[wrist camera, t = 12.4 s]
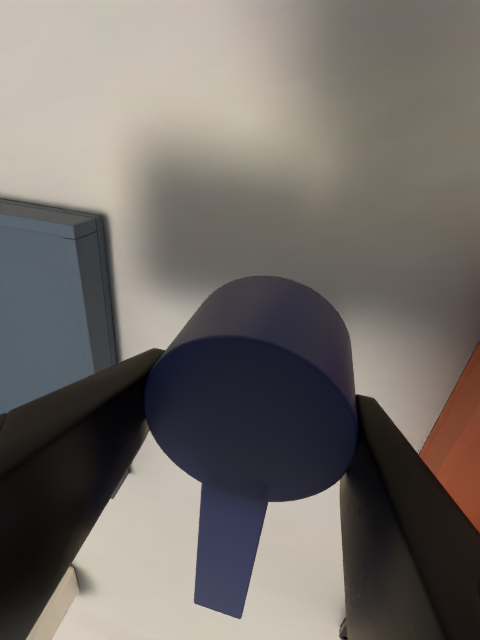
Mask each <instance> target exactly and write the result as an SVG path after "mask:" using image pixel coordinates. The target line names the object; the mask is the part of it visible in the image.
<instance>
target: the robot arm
mask: <svg viewBox="0 0 480 640" xmlns="http://www.w3.org/2000/svg"><path fill="white" fill-rule="evenodd" d="M165 351H166V350H162V349H157V348H153V349H150V350H148V351H146V352H143V353H141V354H139V355H136V356H134V357H132V358H129V359H127V360H125V361H123V362H120V363H118V364H116V365H113V366H111V367H109V368H106V369H104V370H102V371H100V372H97V373H95V374H93V375H90V376H88V377H86V378H83V379H81V380H79V381H77V382H74V383H72V384H70V385H67V386H65V387H63V388H60V389H58V390H56V391H54V392H51V393H49V394H47V395H44V396H42V397H40V398H37V399H35V400H33V401H30V402H28V403H26V404H24V405H21V406H19V407H17V408H14V409H12V410H10V411H9V412H8V413H3V414H0V640H26V639H27V637H28V635H29V634H30V632H31V630H32V629H33V627H34V625H35V623H36V622H37V620H38V618H39V617H40V615H41V613H42V612H43V610H44V608H45V607H46V605H47V603H48V602H49V600H50V598H51V597H52V595H53V593H54V592H55V590H56V588H57V587H58V585H59V583H60V582H61V580H62V578H63V577H64V575H65V573H66V572H67V570H68V568H69V567H70V565H71V563H72V562H73V560H74V558H75V557H76V555H77V553H78V551H79V550H80V548H81V546H82V545H83V543H84V541H85V540H86V538H87V536H88V535H89V533H90V531H91V530H92V528H93V526H94V525H95V523H96V521H97V520H98V518H99V516H100V515H101V513H102V511H103V510H104V508H105V506H106V505H107V503H108V501H109V500H110V498H111V496H112V495H113V493H114V491H115V490H116V488H117V486H118V485H119V483H120V481H121V479H122V478H123V476H124V474H125V473H126V471H127V469H128V468H129V466H130V464H131V463H132V461H133V459H134V458H135V456H136V454H137V453H138V451H139V449H140V448H141V446H142V444H143V442H144V440H145V438H146V436H147V434H148V432H149V430H150V429H149V427H148V424H147V421H146V418H145V413H144V395H143V394H144V388H145V383H146V380H147V378H148V375H149V373H150V371H151V370H152V368H153V367H154V365H155V364H156V362H157V361H158V360H159V358H160V357H161V356H162V355H163V353H164V352H165ZM356 407H357V419H358V430H359V440H358V445H357V448H356V450H355V453H354V456H353V458H352V461H351V463H350V466H349V468H348V470H347V472H346V473H345V474H344V476H343V477H342V478H341V479H340V515H341V532H342V550H343V568H344V585H345V603H346V619H345V621H344V623H343V624H342V626H341V628H340V630H339V637H340V638H341V639H342V640H480V533H479V531H478V530H477V529H476V528H475V526H474V525H473V524H472V522H471V521H470V520H469V519H468V517H467V516H466V515H465V514H464V512H463V511H462V510H461V508H460V507H459V506H458V505H457V503H456V502H455V501H454V499H453V498H452V497H451V496H450V494H449V493H448V492H447V490H446V489H445V488H444V487H443V485H442V484H441V483H440V482H439V480H438V479H437V478H436V476H435V475H434V474H433V473H432V471H431V470H430V469H429V467H428V466H427V465H426V464H425V462H424V461H423V460H422V459H421V457H420V456H419V455H418V453H417V452H416V451H415V450H414V448H413V447H412V446H411V444H410V443H409V442H408V441H407V439H406V438H405V437H404V435H403V434H402V433H401V432H400V430H399V429H398V428H397V427H396V425H395V424H394V423H393V421H392V420H391V419H390V418H389V416H388V415H387V414H386V412H385V411H384V410H383V409H382V407H381V406H380V405H379V404H378V402H377V401H376V400H375V399H374V398H372V397H368V396H363V395H359V394H357V395H356Z"/></svg>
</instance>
